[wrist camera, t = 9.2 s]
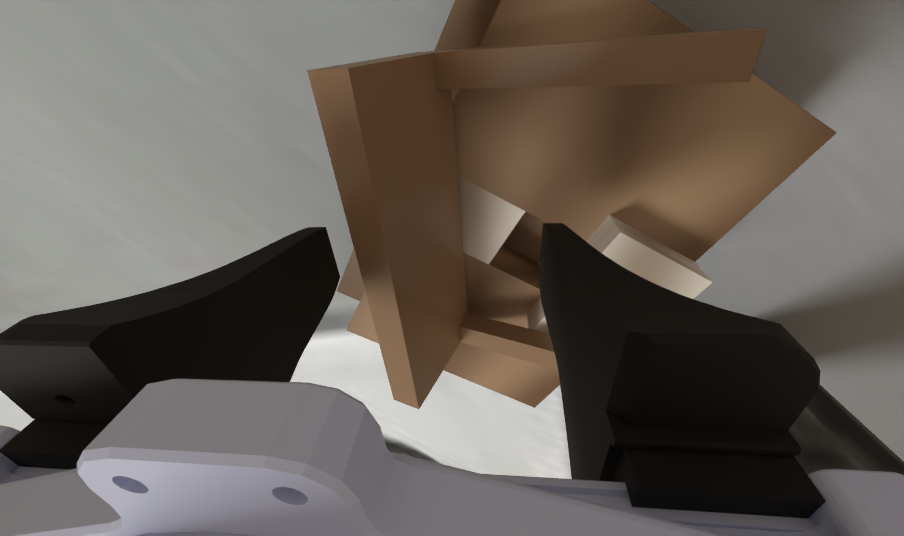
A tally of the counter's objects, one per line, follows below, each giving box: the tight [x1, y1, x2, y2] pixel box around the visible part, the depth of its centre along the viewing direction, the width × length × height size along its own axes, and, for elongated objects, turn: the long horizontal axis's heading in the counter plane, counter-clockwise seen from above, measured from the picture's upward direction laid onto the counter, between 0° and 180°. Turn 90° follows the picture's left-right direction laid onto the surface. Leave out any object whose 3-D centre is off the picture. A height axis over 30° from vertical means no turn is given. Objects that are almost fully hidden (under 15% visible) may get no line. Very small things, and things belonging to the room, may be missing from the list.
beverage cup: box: [789, 384, 904, 476], centre depth 15 cm, size 7×7×20 cm
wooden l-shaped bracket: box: [307, 28, 767, 409], centre depth 12 cm, size 9×12×5 cm
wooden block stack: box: [337, 0, 837, 408], centre depth 17 cm, size 14×18×6 cm
